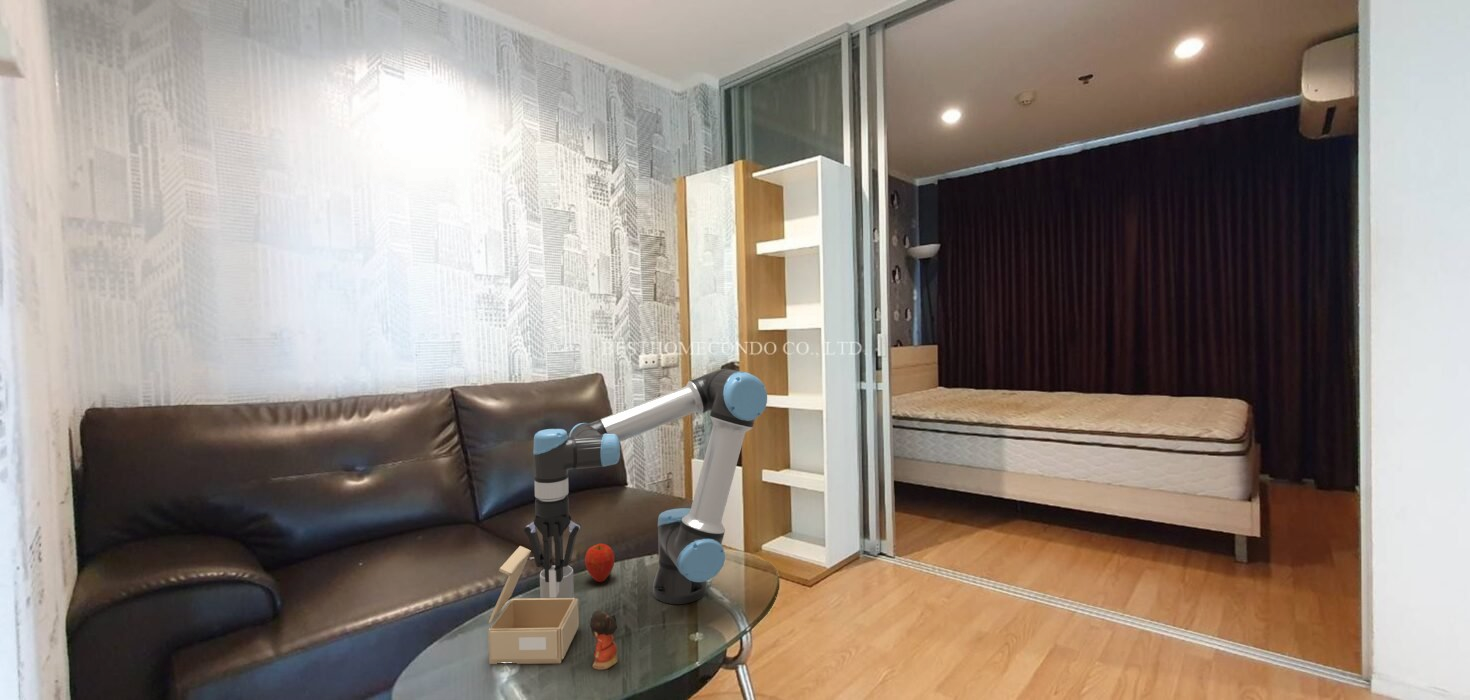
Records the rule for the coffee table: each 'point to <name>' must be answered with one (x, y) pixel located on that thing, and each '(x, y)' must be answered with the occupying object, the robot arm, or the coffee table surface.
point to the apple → (599, 561)
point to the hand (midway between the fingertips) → (554, 594)
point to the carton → (533, 631)
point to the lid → (511, 576)
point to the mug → (564, 586)
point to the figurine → (604, 639)
